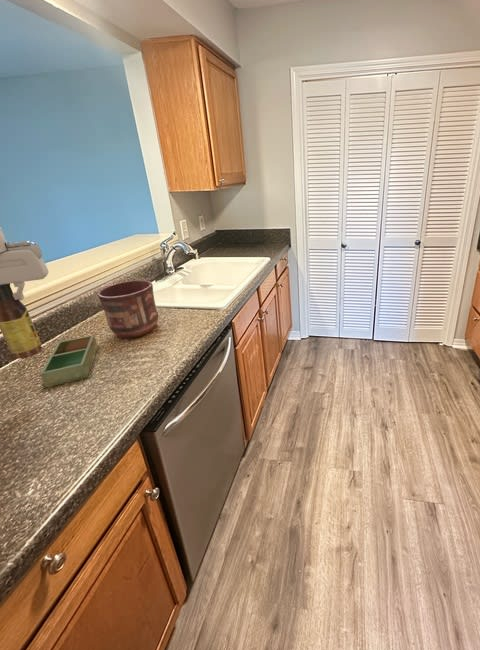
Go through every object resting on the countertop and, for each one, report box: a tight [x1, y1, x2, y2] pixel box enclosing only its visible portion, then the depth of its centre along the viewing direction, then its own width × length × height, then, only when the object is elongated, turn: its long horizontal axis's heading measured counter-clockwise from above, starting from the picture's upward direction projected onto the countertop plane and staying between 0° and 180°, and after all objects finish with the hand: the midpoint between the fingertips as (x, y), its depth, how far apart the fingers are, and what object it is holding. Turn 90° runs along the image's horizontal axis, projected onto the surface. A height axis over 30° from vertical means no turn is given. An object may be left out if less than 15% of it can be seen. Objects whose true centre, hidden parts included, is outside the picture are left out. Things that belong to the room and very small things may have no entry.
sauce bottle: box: [0, 283, 43, 360], centre depth 80 cm, size 6×6×20 cm
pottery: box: [97, 279, 160, 340], centre depth 120 cm, size 18×18×18 cm
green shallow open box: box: [40, 334, 99, 388], centre depth 103 cm, size 11×20×5 cm, turn 23°
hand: (5, 301), depth 78 cm, fingers closed on sauce bottle, 4 cm apart
